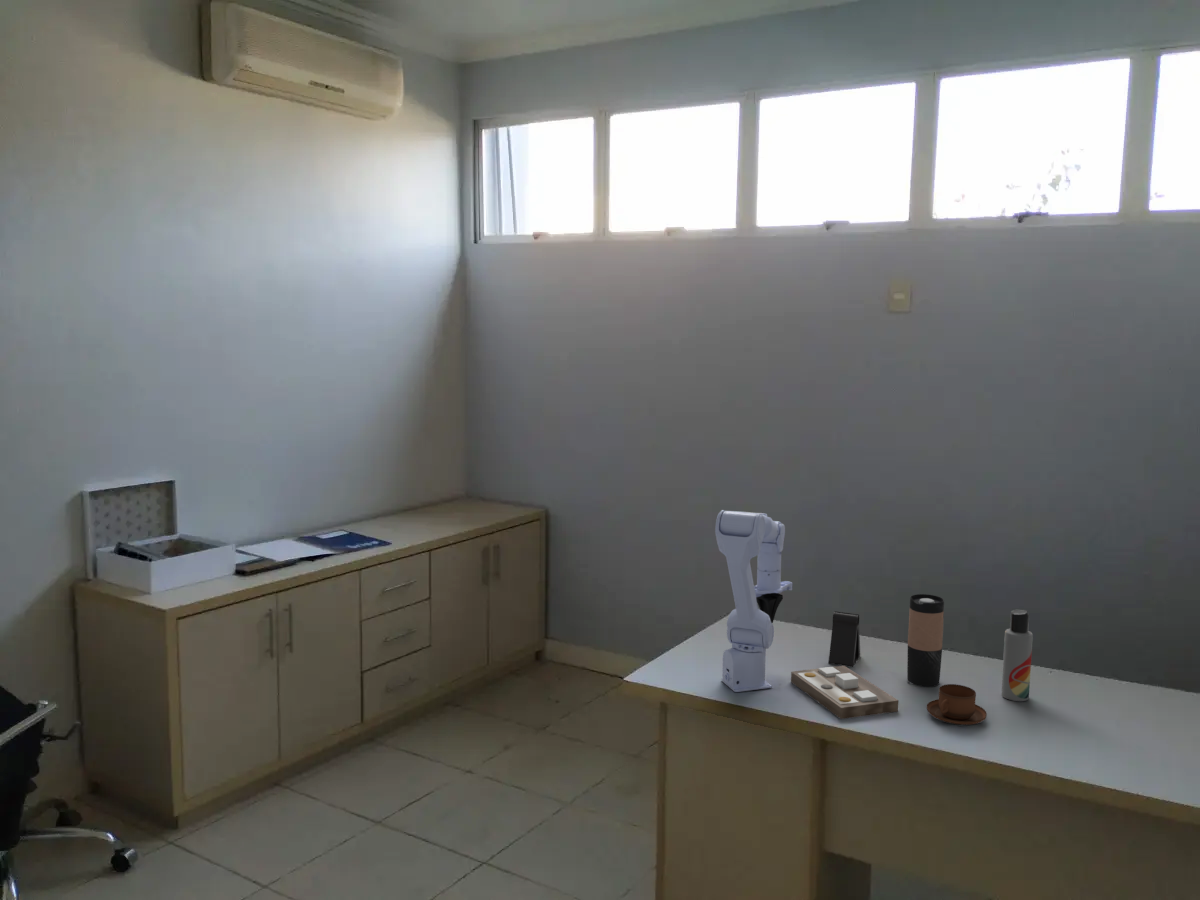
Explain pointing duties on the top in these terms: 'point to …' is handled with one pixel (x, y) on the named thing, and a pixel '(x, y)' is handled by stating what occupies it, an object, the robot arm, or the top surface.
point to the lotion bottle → (1017, 657)
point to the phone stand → (845, 639)
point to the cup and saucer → (956, 706)
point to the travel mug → (925, 640)
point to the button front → (865, 696)
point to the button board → (843, 694)
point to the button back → (828, 671)
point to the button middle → (846, 681)
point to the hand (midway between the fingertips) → (767, 622)
